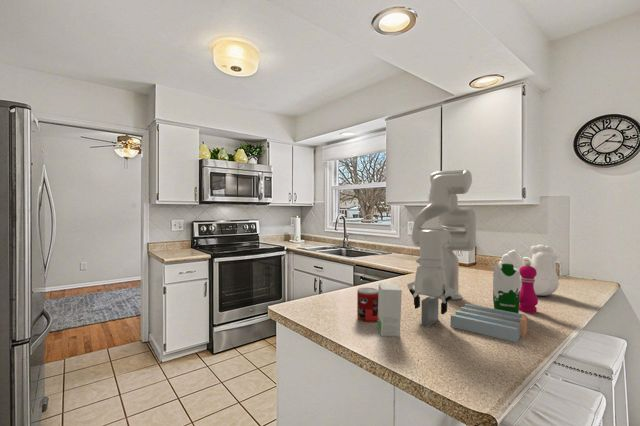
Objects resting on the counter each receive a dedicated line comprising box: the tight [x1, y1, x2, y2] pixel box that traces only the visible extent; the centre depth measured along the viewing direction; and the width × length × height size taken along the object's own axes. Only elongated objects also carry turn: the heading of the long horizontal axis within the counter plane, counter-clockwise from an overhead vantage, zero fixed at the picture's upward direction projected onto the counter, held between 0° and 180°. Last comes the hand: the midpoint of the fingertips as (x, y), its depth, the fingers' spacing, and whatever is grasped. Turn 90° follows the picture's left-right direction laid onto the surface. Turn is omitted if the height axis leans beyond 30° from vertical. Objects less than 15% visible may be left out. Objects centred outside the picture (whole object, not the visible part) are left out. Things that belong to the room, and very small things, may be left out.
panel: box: [420, 296, 440, 328], centre depth 114 cm, size 10×2×9 cm, turn 139°
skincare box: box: [377, 282, 403, 338], centre depth 105 cm, size 8×7×16 cm
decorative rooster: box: [497, 244, 560, 296], centre depth 156 cm, size 25×16×25 cm, turn 35°
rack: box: [450, 303, 528, 343], centre depth 110 cm, size 21×18×6 cm
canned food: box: [356, 287, 379, 323], centre depth 117 cm, size 8×8×11 cm
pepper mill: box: [519, 261, 539, 314], centre depth 128 cm, size 7×7×20 cm
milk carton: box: [492, 264, 520, 314], centre depth 124 cm, size 9×9×20 cm
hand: (430, 310), depth 114 cm, fingers open, 9 cm apart
